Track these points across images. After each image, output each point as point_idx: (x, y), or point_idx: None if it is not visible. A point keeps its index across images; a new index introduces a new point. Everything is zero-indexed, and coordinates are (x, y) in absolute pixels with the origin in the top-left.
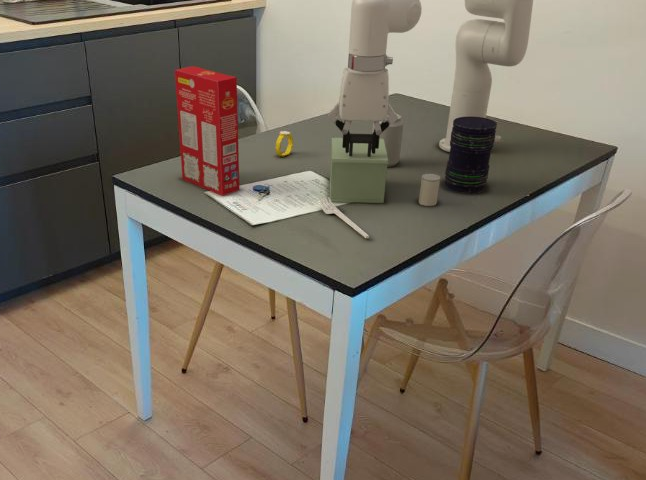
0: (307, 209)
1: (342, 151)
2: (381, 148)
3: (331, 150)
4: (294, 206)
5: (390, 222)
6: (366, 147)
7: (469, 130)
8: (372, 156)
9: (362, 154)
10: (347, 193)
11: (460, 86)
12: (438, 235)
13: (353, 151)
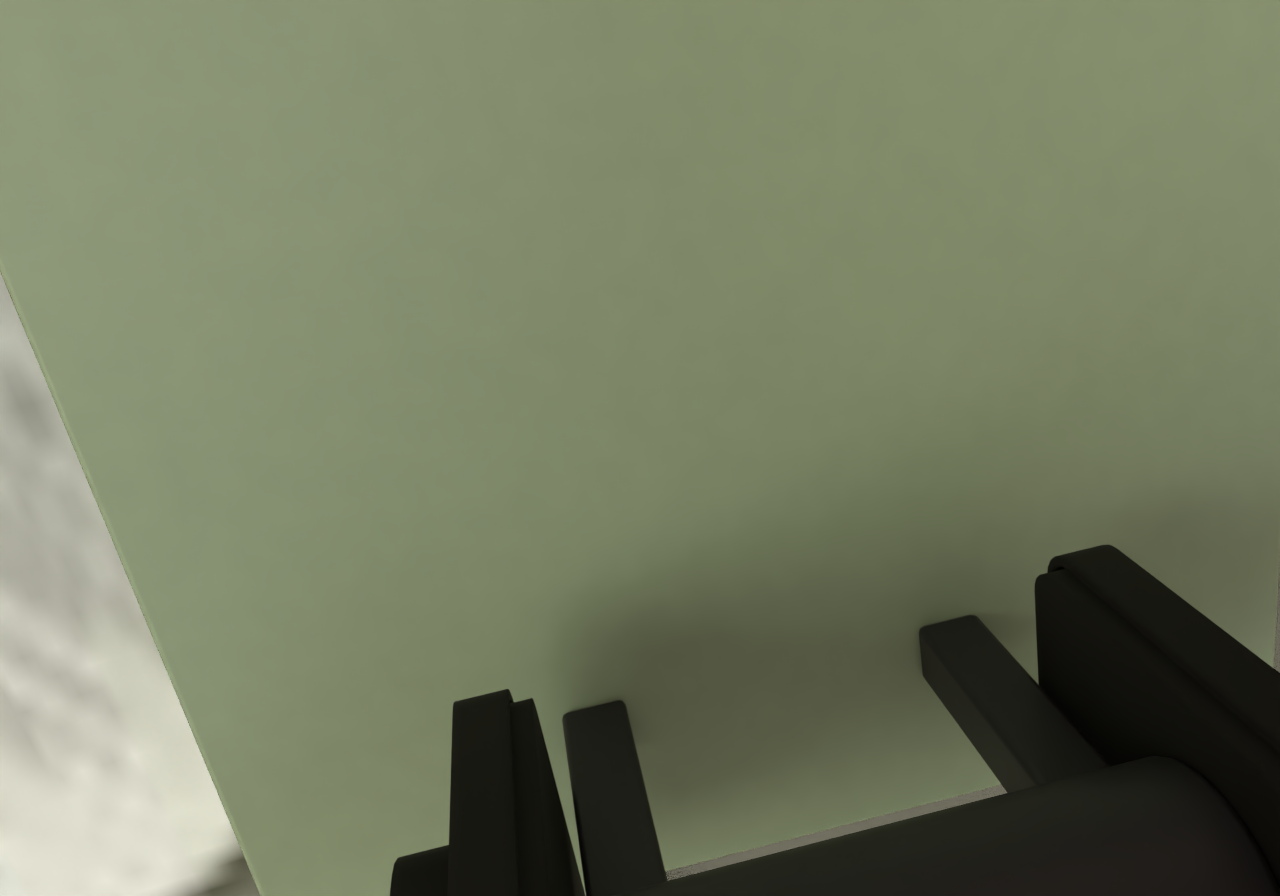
0: (193, 780)
1: (371, 542)
2: (1218, 67)
3: None
4: (27, 758)
5: (993, 788)
6: (874, 90)
7: None
8: (1014, 638)
9: (820, 589)
10: None
11: None
12: None
13: (612, 474)
